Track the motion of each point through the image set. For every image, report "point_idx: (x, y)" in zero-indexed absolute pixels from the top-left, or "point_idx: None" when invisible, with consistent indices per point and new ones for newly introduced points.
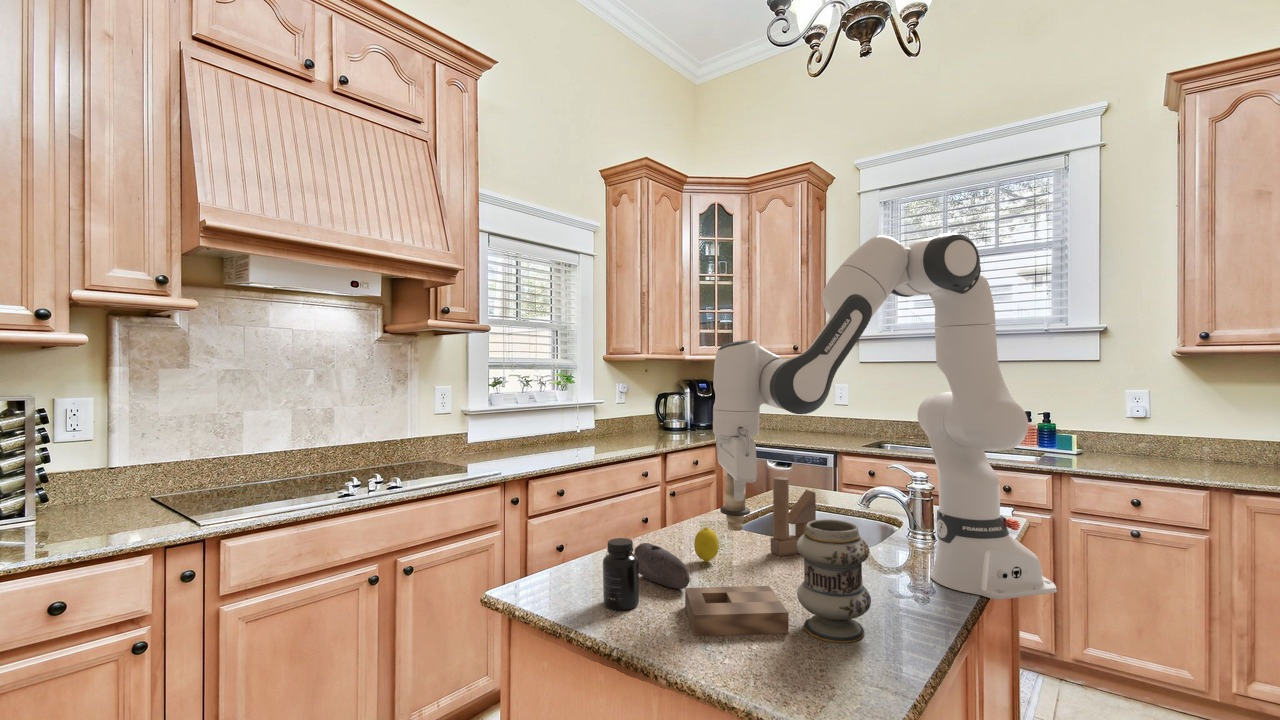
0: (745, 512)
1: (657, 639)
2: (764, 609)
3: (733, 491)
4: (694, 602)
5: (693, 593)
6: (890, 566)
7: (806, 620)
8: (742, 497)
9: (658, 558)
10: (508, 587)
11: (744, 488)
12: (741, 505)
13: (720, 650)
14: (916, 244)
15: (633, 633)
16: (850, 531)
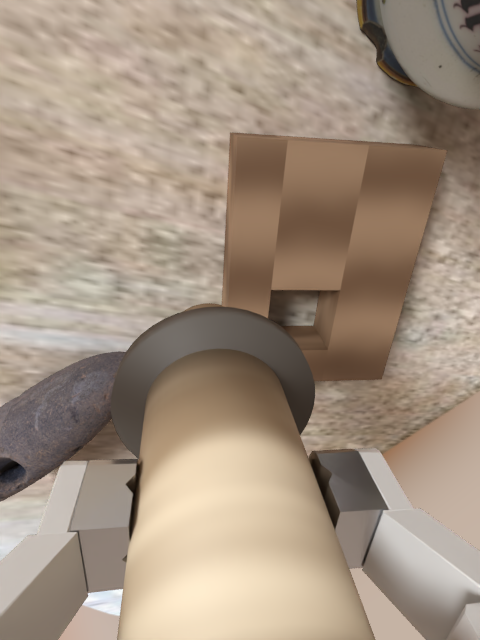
0: (305, 359)
1: (355, 411)
2: (405, 215)
3: (350, 559)
4: (316, 372)
5: None
6: None
7: (389, 62)
8: (382, 468)
9: (69, 457)
10: (102, 610)
11: (458, 537)
12: (289, 407)
13: (430, 317)
14: None
15: (322, 444)
16: None
